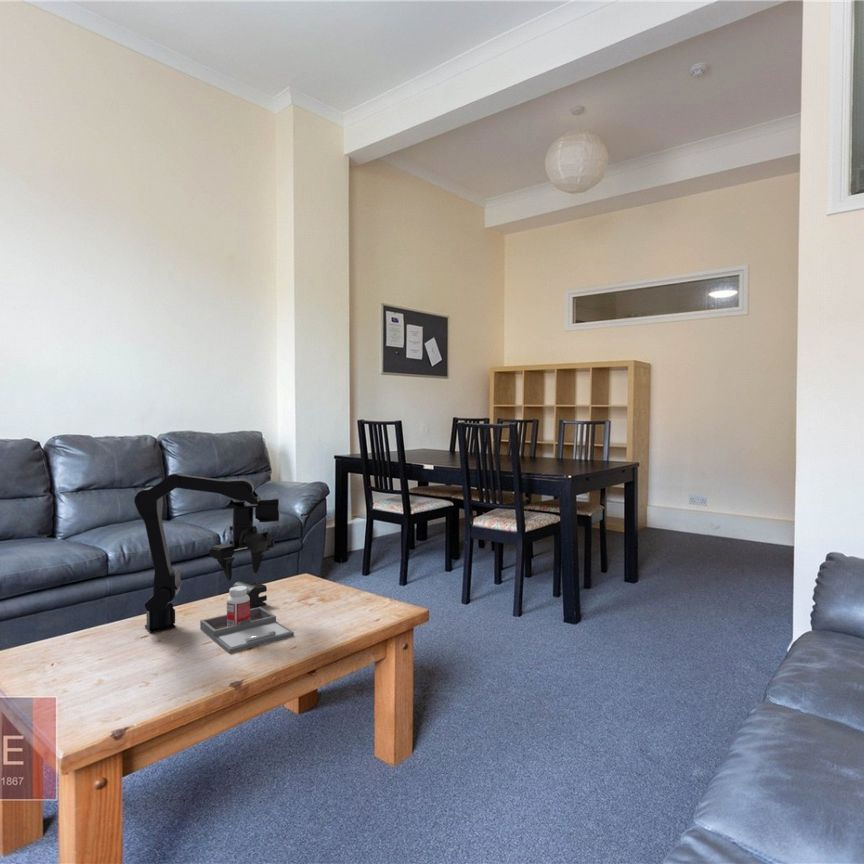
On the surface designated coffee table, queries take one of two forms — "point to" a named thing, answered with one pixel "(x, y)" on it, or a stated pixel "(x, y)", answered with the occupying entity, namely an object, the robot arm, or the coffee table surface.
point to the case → (209, 623)
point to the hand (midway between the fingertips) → (242, 576)
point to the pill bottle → (237, 605)
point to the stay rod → (260, 636)
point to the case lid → (237, 638)
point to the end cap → (254, 593)
